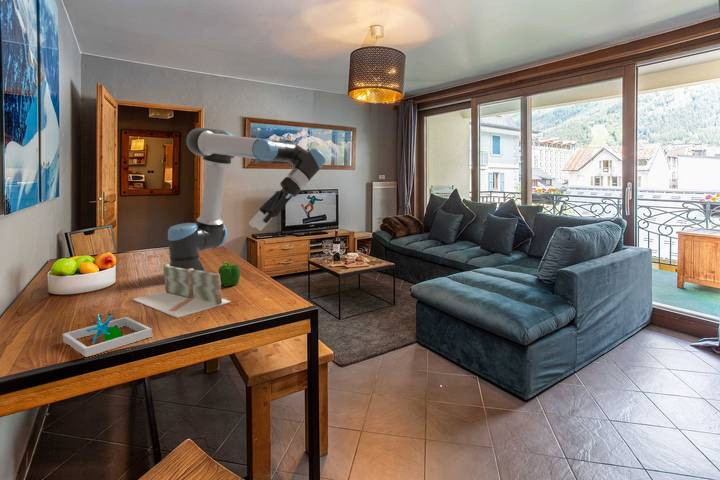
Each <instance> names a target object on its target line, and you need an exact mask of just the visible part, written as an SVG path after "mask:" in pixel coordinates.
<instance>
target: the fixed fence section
mask: <svg viewBox="0 0 720 480" xmlns="http://www.w3.org/2000/svg"><path fill="white" fill-rule="evenodd" d="M169 265H170V263H164V264H163V276H164V277H163V278H164V288H165V291H166V292H170V293H174V294H178V295H182V296H186V297H189V298H193V286H192V273H191V270H194V269H193V268H190V269H183V268H178V267H172V266H169Z"/></svg>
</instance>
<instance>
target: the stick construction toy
mask: <svg viewBox="0 0 720 480" xmlns="http://www.w3.org/2000/svg"><path fill="white" fill-rule="evenodd" d="M107 315H108V318H107V319H106V321H104V322H102V320H101V317H102V315H101V314H97V321H93V322H92V323H93V324H95V325H97V327H96V328H92V329H88V330H86V331H88V332H90V331H93V330H97V333H96V335H94V337H92V338H89V341H92V344H94V342H96V341H97V339H98V338H99V336H100V335H102V334H103V339H104V340H103V341H102V342H105V341H109V340H112V339H115V338H119V337H122V336H124V332H123V330H122V329H121V328H118V326H117V325H115V326H112V327H107V326H108V324H109V321H112V319H113V320H115V319H116V318H115V317H114V316H112V315H113V314H111V313H108V314H107ZM101 323H103V324H102V325H101ZM93 339H94V340H93Z"/></svg>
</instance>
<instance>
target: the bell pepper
mask: <svg viewBox="0 0 720 480" xmlns="http://www.w3.org/2000/svg"><path fill="white" fill-rule="evenodd" d="M218 274H220V282H221V286H222V287H230V286H236V285H238V283H239V281H240V277H241V268H240V266H239V265H238V264H231V263H229V262H228V261H223V262H222V265H221V266H220V267H219V269H218Z"/></svg>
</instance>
